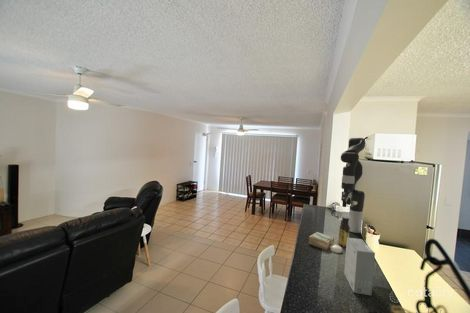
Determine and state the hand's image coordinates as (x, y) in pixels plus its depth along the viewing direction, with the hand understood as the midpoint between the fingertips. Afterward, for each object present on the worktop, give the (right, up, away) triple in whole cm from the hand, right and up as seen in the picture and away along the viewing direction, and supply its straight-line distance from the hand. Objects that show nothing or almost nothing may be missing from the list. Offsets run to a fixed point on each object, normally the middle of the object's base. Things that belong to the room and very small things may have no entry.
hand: (346, 205), depth 143 cm
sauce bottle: (-1, -28, +2) cm, 28 cm away
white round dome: (-10, -28, -5) cm, 30 cm away
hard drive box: (-16, -30, -39) cm, 52 cm away
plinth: (-16, -27, +2) cm, 31 cm away
